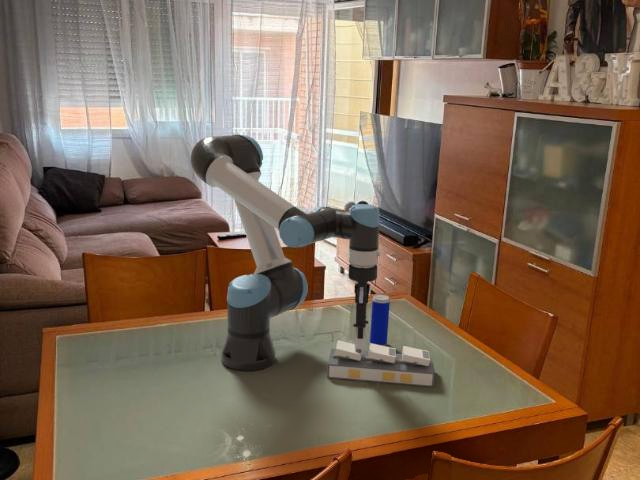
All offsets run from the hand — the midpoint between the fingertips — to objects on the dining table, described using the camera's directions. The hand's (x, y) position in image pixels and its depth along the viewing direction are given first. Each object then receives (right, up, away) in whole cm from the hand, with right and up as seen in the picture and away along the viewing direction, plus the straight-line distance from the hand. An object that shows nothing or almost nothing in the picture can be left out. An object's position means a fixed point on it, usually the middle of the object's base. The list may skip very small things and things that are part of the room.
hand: (359, 347), depth 166 cm
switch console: (+6, -7, +1) cm, 9 cm away
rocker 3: (+15, -3, -1) cm, 15 cm away
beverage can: (+7, -3, +21) cm, 22 cm away
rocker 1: (-3, -2, +1) cm, 4 cm away
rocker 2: (+6, -2, 0) cm, 6 cm away
